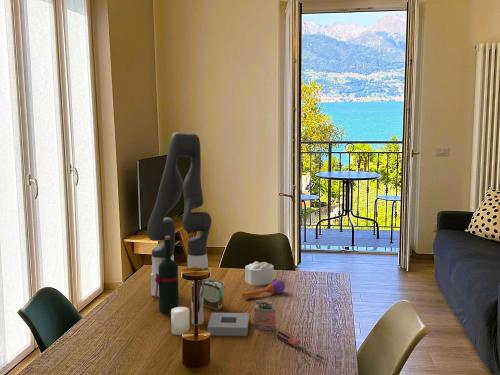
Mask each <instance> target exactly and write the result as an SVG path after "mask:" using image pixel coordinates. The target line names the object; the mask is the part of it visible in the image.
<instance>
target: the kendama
mask: <svg viewBox="0 0 500 375" xmlns="http://www.w3.org/2000/svg"><path fill="white" fill-rule="evenodd" d="M285 288H286V287H285V283H284V281H282V280H280V279H275V280H273V282H272V283H270V284H267V286H266V287H265V288H263V289H258V290H252V291H245V292H243V293H242V299H243V300H244V301H248V300H249V299H252V298H254V297H256V296H260V295H261V294H263V293H268V294H282V293H283V292H284V291H285Z"/></svg>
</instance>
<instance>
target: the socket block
mask: <svg viewBox="0 0 500 375" xmlns="http://www.w3.org/2000/svg"><path fill="white" fill-rule="evenodd" d="M249 318H250V314H249V312H211V313H210V317H209V320H208V323H207V324H208V325H207V327H206V328H207V329H206V331H208V332H210V333H211V335H210V336H220V337H221V336H225V337H226V336H232V337H234V336H235V337H236V336H237V337H247V336H248V332H249V322H250V319H249Z"/></svg>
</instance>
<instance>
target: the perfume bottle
mask: <svg viewBox="0 0 500 375" xmlns="http://www.w3.org/2000/svg"><path fill="white" fill-rule="evenodd" d="M253 312H254V316H253V317H254V318H253V320H254V322H253V323H254V324H253V327H254V328H255V329H260V330H267V331H268V330H269V331H274V330H276V308H275V307H274V306H273V302H272V301H268V300H264V301H263V300H258V299H256V300H255V305H254V306H253Z"/></svg>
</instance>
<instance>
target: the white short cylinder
mask: <svg viewBox="0 0 500 375" xmlns="http://www.w3.org/2000/svg"><path fill="white" fill-rule="evenodd" d="M170 315H171V316H170V318H171V319H170V320H171V322H170V323H171V325H170V326H171V327H170V328H171V334H172V335H176V336H182V335H181V334H182V333H184V332H186V331H188V330H190V328H191V326H190V308H189V307H186V306H179V307H176V308H173V309H172V310H171V314H170ZM190 331H191V330H190Z"/></svg>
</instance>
